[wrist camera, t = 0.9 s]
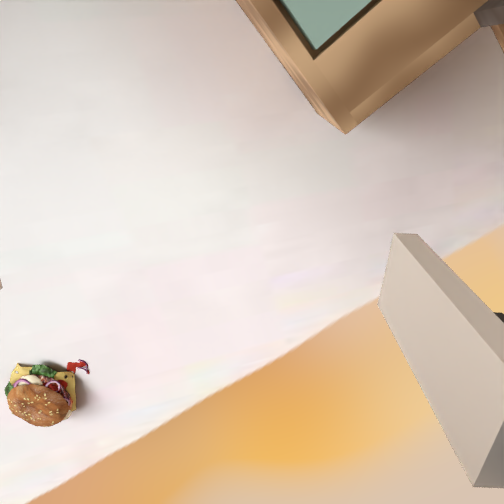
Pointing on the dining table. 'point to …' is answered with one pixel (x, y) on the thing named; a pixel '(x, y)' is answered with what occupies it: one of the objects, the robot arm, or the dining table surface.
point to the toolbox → (371, 50)
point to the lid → (321, 17)
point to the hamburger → (43, 393)
